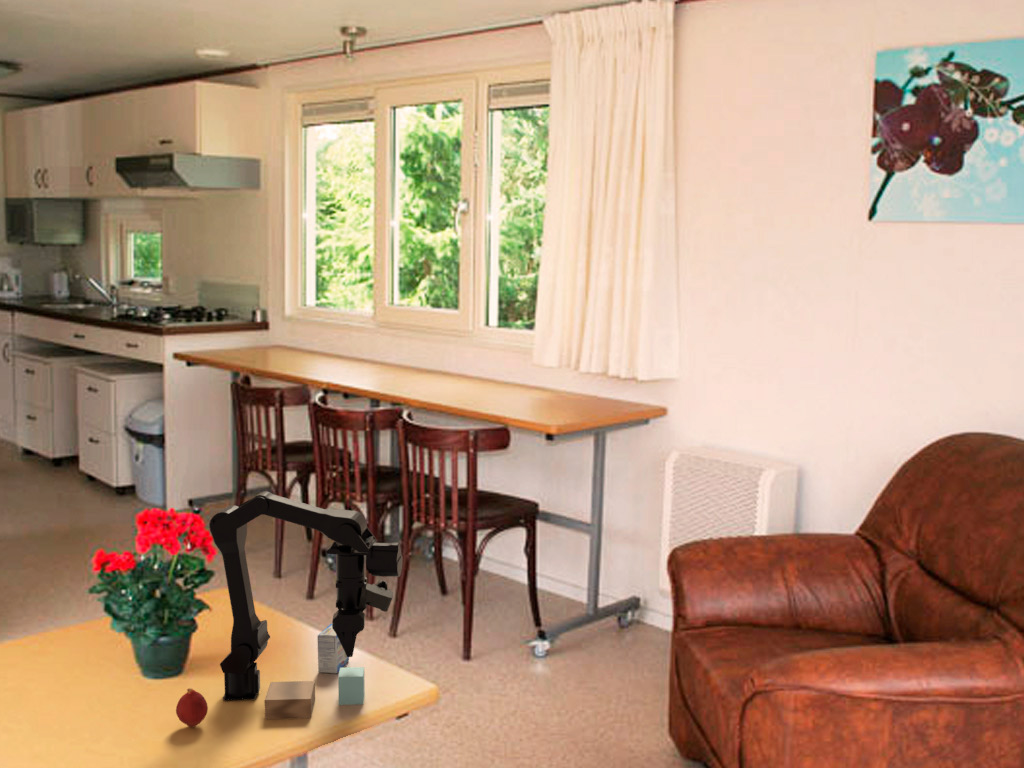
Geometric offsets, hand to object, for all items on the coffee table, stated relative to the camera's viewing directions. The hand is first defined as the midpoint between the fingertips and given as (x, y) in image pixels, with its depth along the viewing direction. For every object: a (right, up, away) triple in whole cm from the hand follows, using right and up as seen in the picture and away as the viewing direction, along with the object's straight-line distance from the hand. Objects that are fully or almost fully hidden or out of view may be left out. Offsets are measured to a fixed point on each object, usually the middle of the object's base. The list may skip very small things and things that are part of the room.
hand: (351, 648), depth 229 cm
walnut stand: (-12, -11, -4) cm, 17 cm away
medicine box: (-7, -9, +19) cm, 22 cm away
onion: (-29, -13, -12) cm, 34 cm away
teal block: (0, -11, +1) cm, 11 cm away
